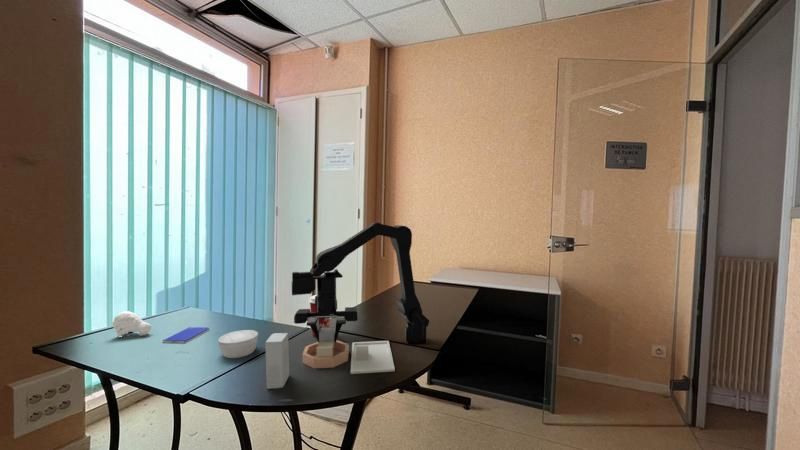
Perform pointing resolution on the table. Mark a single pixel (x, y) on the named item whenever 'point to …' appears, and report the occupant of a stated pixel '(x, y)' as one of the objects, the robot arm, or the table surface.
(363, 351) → the beige grey block
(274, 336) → the skincare box
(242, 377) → the table surface
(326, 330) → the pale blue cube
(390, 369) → the parts tray
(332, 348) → the cream cube
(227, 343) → the ramekin
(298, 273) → the robot arm
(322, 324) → the paper cup
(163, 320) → the table surface
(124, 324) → the white animal figurine
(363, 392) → the table surface
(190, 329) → the hard drive
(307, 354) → the terracotta dish
